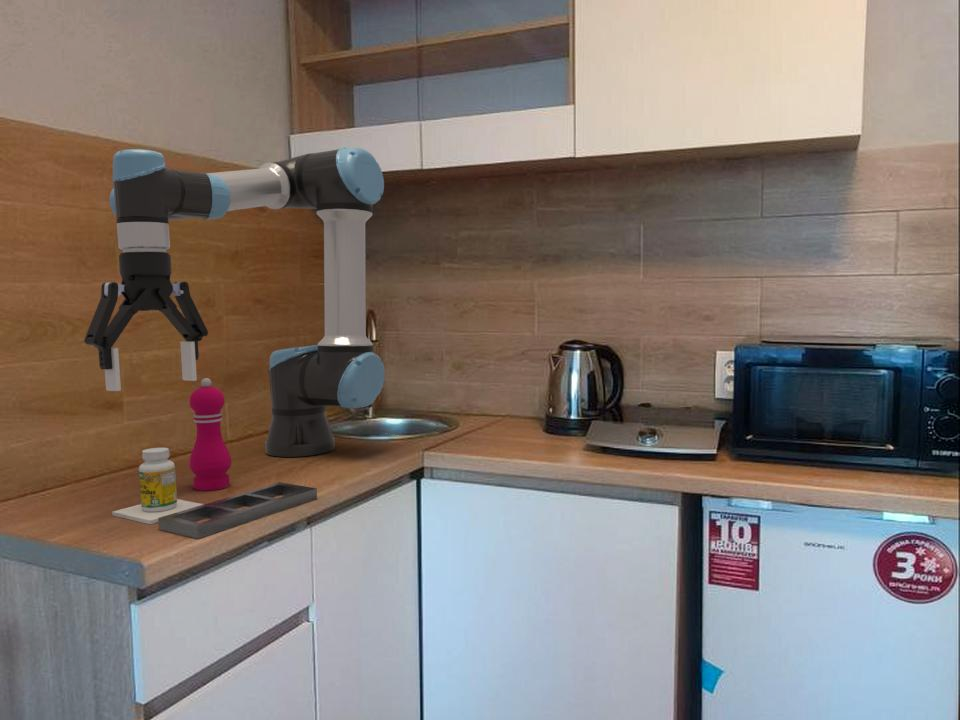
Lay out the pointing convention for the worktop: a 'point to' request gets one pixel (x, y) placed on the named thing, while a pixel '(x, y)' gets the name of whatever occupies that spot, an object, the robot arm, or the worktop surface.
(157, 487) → the supplement bottle
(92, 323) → the robot arm
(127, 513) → the white mat
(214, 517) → the rack frame
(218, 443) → the pepper mill
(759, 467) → the worktop surface
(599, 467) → the worktop surface
